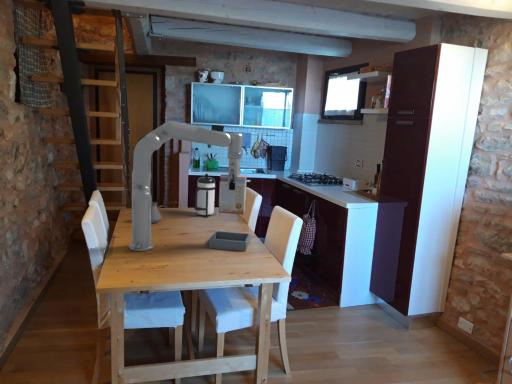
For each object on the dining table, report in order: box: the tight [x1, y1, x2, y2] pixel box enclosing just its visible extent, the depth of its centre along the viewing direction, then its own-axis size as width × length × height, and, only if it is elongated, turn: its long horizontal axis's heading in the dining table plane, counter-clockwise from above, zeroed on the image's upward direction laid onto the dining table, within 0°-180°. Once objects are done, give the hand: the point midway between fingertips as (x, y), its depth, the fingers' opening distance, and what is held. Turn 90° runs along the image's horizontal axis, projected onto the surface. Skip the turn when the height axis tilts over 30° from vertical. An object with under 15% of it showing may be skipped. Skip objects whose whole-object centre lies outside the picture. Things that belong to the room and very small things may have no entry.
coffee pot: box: [151, 200, 178, 225], centre depth 258 cm, size 21×12×15 cm, turn 90°
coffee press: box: [193, 173, 217, 219], centre depth 280 cm, size 17×16×30 cm
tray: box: [208, 230, 251, 252], centre depth 221 cm, size 16×20×5 cm
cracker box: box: [218, 174, 248, 216], centre depth 219 cm, size 14×6×21 cm, turn 84°
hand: (232, 188), depth 218 cm, fingers closed on cracker box, 5 cm apart
